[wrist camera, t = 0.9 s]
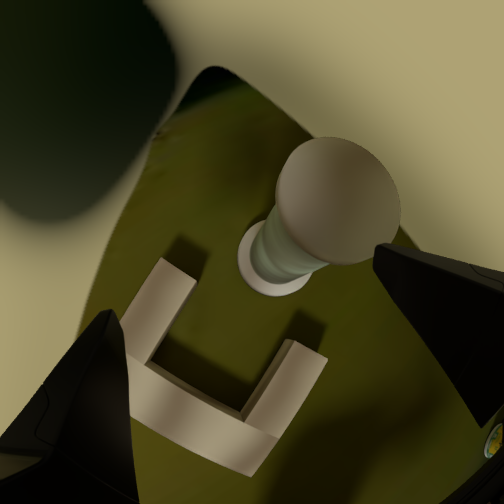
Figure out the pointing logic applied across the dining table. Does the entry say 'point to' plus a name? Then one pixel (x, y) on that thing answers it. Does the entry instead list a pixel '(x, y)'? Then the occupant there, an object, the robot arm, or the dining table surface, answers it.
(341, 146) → the bobbin
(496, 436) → the supplement bottle
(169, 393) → the notched board
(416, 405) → the dining table surface
